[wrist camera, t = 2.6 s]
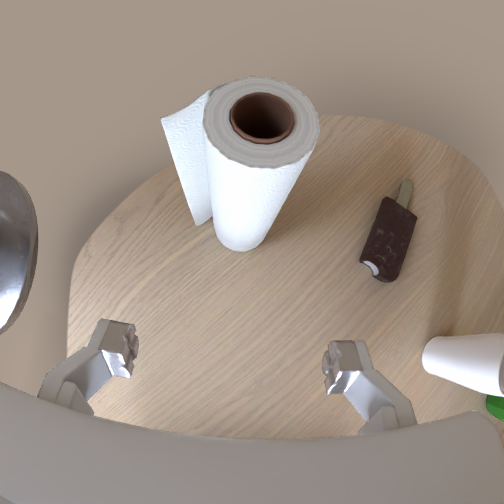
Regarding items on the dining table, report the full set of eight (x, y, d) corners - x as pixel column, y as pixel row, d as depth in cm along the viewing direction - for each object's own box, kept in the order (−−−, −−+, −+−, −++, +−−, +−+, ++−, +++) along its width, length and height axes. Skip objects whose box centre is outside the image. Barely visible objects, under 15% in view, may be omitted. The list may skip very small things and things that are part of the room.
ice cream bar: (391, 172, 38) (355, 267, 35) (396, 167, 37) (361, 265, 34) (419, 192, 38) (388, 286, 35) (425, 188, 36) (395, 285, 33)
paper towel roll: (277, 220, 35) (341, 111, 14) (247, 263, 34) (281, 192, 13) (226, 186, 36) (231, 51, 15) (195, 226, 34) (158, 115, 13)
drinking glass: (457, 351, 34) (534, 359, 20) (430, 387, 33) (507, 410, 18) (437, 320, 35) (519, 318, 20) (407, 357, 34) (489, 373, 19)
